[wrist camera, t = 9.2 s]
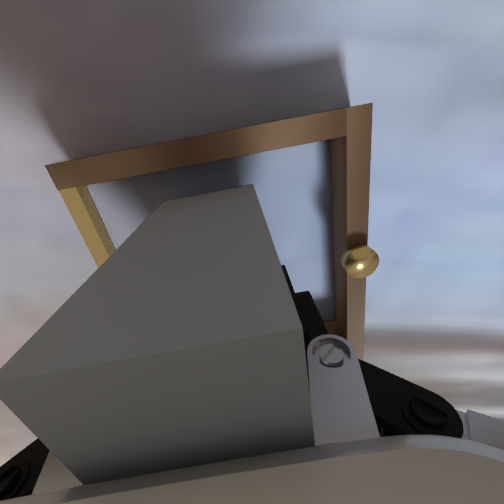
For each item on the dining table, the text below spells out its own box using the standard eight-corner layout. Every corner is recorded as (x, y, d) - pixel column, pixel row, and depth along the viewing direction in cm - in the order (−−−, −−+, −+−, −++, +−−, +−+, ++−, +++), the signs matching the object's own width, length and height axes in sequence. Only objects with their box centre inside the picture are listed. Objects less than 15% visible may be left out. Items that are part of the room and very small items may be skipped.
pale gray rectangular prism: (252, 184, 11) (302, 328, 3) (277, 334, 15) (328, 569, 7) (161, 201, 11) (-27, 386, 3) (210, 346, 15) (183, 593, 7)
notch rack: (357, 105, 11) (388, 99, 9) (352, 430, 23) (366, 464, 21) (56, 162, 12) (13, 171, 9) (201, 455, 23) (197, 492, 21)
